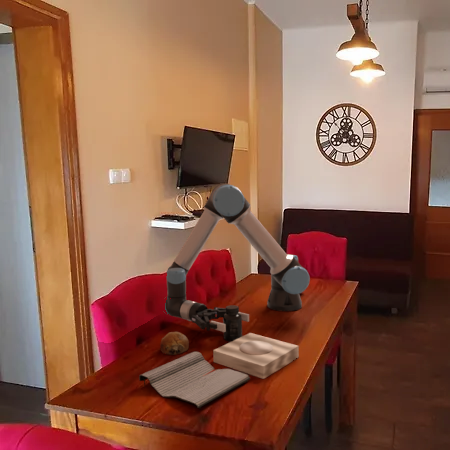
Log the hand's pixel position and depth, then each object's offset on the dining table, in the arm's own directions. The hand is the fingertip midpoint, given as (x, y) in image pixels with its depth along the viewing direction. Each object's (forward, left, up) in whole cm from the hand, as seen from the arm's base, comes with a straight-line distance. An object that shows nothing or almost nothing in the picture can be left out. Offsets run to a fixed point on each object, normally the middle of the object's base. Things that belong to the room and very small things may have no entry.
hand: (237, 323), depth 178 cm
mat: (+35, +12, -7) cm, 37 cm away
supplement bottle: (0, -2, -7) cm, 7 cm away
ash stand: (+10, +16, -6) cm, 20 cm away
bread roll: (+20, -12, -7) cm, 24 cm away
